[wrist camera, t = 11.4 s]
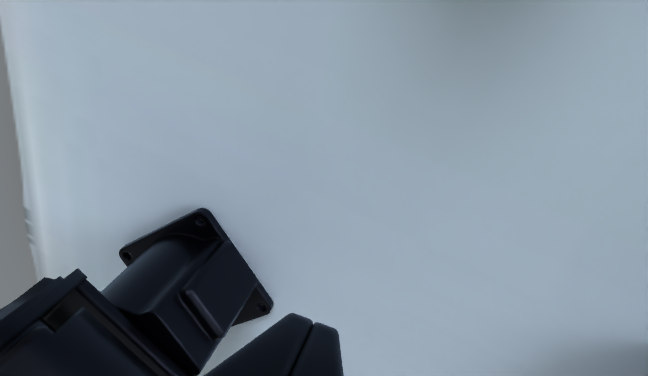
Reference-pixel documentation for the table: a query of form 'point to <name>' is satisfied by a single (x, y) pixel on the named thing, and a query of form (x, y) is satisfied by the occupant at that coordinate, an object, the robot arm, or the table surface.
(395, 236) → the table surface
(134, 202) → the table surface
